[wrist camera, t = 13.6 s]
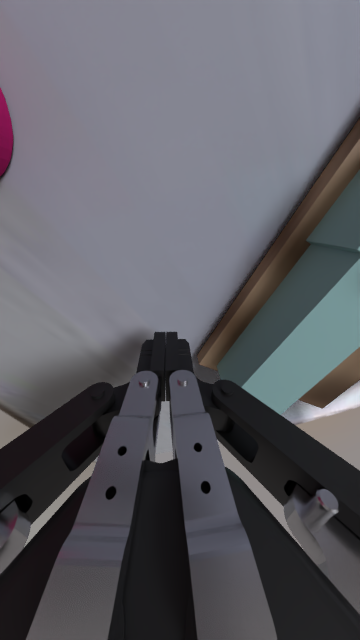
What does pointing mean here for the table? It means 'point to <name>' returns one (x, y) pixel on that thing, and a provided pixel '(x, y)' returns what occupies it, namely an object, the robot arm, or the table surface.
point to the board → (279, 262)
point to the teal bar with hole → (305, 314)
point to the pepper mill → (5, 135)
